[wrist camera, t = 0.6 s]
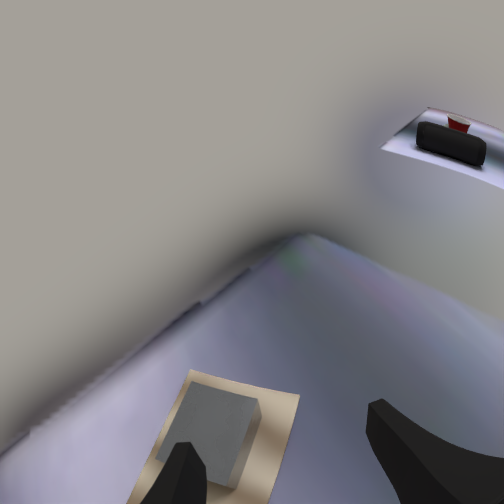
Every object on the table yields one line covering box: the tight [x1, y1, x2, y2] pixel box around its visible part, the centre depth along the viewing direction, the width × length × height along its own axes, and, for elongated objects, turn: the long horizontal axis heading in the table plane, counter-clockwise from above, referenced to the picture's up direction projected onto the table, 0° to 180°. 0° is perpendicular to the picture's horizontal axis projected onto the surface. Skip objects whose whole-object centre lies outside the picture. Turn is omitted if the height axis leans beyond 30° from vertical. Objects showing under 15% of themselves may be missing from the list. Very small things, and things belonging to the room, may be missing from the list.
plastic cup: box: [447, 114, 471, 133], centre depth 81 cm, size 11×11×12 cm
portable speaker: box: [416, 121, 486, 166], centre depth 72 cm, size 26×10×10 cm, turn 52°
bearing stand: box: [127, 370, 300, 504], centre depth 18 cm, size 22×12×6 cm, turn 163°
